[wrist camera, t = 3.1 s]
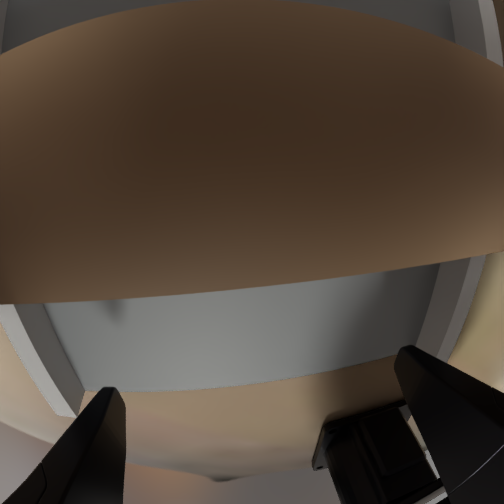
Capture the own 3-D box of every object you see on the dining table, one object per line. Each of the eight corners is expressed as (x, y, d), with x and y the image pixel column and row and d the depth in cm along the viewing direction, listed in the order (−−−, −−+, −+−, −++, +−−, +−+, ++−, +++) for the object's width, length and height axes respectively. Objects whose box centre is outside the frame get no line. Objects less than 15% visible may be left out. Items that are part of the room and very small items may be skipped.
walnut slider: (449, 200, 9) (533, 244, 5) (24, 234, 7) (-52, 305, 4) (455, 89, 7) (550, 98, 4) (5, 106, 6) (-93, 117, 2)
